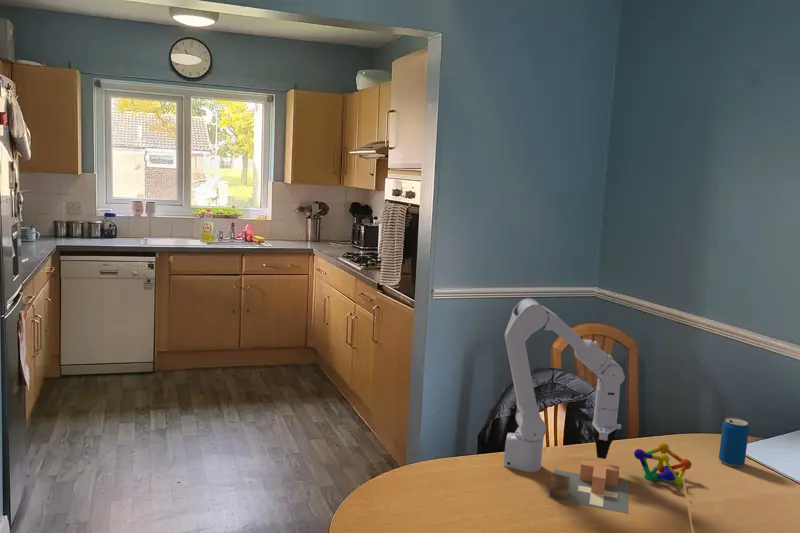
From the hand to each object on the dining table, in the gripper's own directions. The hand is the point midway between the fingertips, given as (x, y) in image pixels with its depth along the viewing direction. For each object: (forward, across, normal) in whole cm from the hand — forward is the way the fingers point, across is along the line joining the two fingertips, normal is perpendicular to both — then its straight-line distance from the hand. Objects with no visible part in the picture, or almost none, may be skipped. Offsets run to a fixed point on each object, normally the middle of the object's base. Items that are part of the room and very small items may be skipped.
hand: (601, 457), depth 175 cm
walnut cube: (+3, -19, +9) cm, 21 cm away
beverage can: (+5, +24, -34) cm, 42 cm away
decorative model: (+5, +3, -15) cm, 16 cm away
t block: (+3, -10, 0) cm, 11 cm away
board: (+4, -14, +2) cm, 14 cm away
